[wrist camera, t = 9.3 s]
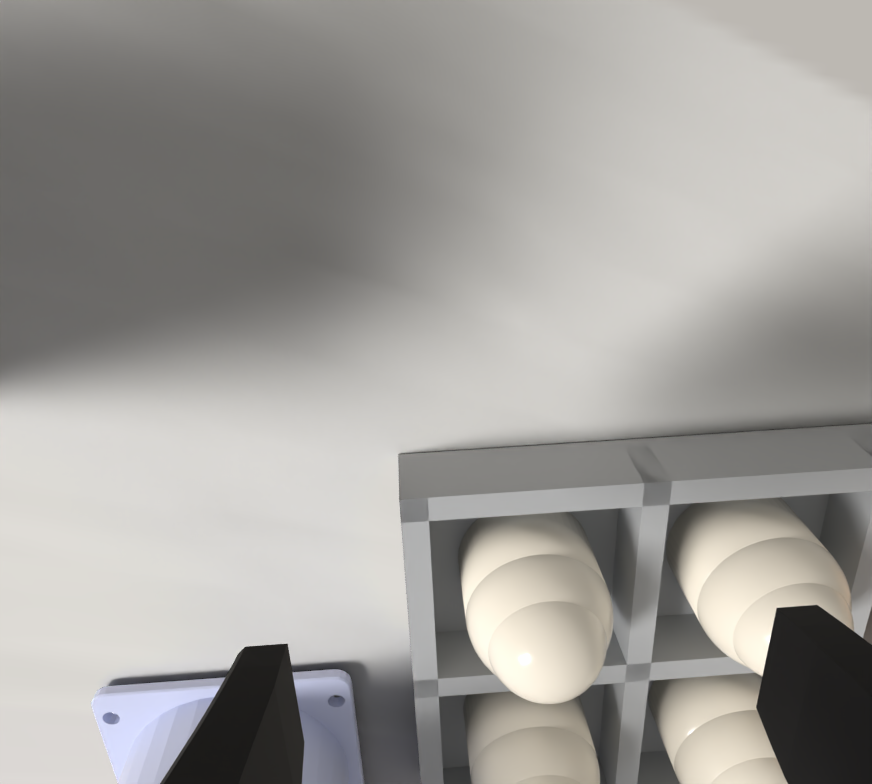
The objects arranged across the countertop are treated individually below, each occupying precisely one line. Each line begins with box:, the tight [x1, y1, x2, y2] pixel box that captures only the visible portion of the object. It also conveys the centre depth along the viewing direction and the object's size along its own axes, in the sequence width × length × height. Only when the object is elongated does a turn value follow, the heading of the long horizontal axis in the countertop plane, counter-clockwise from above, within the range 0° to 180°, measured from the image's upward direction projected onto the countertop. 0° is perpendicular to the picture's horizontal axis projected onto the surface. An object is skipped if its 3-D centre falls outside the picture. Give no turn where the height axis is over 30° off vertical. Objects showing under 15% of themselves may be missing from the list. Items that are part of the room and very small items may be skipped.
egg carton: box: [398, 424, 872, 784], centre depth 22 cm, size 13×19×2 cm
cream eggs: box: [458, 497, 854, 784], centre depth 20 cm, size 10×16×5 cm, turn 92°
